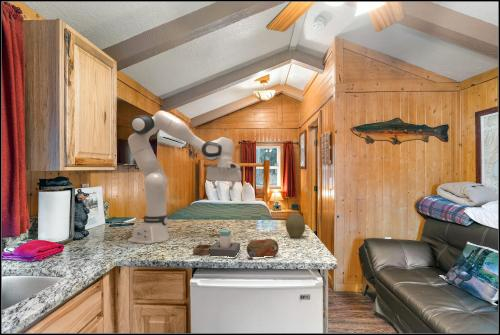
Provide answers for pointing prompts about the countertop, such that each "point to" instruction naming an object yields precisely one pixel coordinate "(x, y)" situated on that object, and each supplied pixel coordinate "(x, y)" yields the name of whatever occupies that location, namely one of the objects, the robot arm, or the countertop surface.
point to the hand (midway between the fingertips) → (223, 189)
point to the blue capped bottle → (225, 238)
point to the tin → (262, 248)
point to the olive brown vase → (295, 225)
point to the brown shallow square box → (202, 249)
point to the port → (225, 250)
